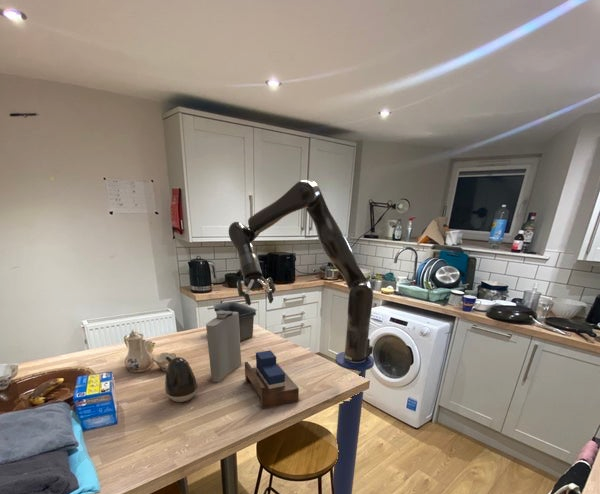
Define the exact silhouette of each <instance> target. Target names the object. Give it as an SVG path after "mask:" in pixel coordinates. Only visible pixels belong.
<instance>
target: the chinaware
mask: <svg viewBox="0 0 600 494" xmlns="http://www.w3.org/2000/svg"><path fill="white" fill-rule="evenodd" d="M123 341H124V344H125V346H126V348H127V349H128V350H127V354H126V357H125V359H124V365H125V368H127V369H128V370H129V371H130V372H131V373H143V372H146V371H148V370H151V369H152V368H153V364H154V363H156V366H157V367H158V368H160V369H161V370H162V371H163V372H166V371H167V367H168V365H169V362H168V361H167V360H166V357H169V358H171V359H173V358H176V357H177V354H176V353H174V352H171V353H169V352H162V353H160V354H157V355H152V353H153V352H154V349H155V345H156V342H152V340H146V339H144V334H143V333H139V332H137V331H136V330H135V329H132V330H131V332H130V333H129V334H125V335H124V336H123Z"/></svg>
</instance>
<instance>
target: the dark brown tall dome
mask: <svg viewBox="0 0 600 494" xmlns="http://www.w3.org/2000/svg"><path fill="white" fill-rule="evenodd" d="M166 360H167V361H168V362H169V365H168V367H167V371H165V377H164V388H165V390H164V391H165V394H166V395H167V396H168V398H169V399H170V400H172V401H174V402H177V403H183V402H187V401H189V400H191V399H192V398H193V397H194V396H195V395H196V392H197V389H198V382H197V379H196V376H195V374H194V371H193V369H192V367H191V366H190V363H189V362H188V361H187V360H186V359H185V358H183V357H180V356H176V358H173V359H171V358H169V357H166Z"/></svg>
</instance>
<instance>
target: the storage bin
mask: <svg viewBox="0 0 600 494" xmlns="http://www.w3.org/2000/svg"><path fill="white" fill-rule="evenodd" d="M212 307H213V310H214V312H215V313H216V312H217V311H222V310H223V311H232V312H238V313H239V330H240V342H241V341H244V340H248V339H250V338H252V337H253V336H254V320H255V316H256V315H257V309H256V308H253V307H252V306H248V305H247V304H246V305H245V304H242V303H239V302H237V301H226V302H225V301H224V302H222V303H218V304H213V306H212Z"/></svg>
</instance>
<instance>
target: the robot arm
mask: <svg viewBox="0 0 600 494" xmlns="http://www.w3.org/2000/svg"><path fill="white" fill-rule="evenodd" d="M303 209H305V211H306V212H307V213H308V215H309V217H310V218H311V220H312V222H313V224H314V227H315V232H316V234H317V238H318V242H319V245H320V246H321V249H322V250H323V252H324V254H325V255H326V258H327V259H328V260H329V262H330V263H331V265H333V267H334V268H335V269H336V270H337V271H338V272H339V273H340V275H341V276H342V278H343V280H344V282H345V284H346V286H347V288H348V291H349V292H348V300H347V312H346V314H347V315H346V316H347V317H346V331H345V343H344V352H345V353H344V360H345V361H347V362H349V363H354V364H360V363H364V362H365V361H366V360H368V357H369V356H371V355H372V354H373V352H374V351H373V350H374V347H373V346H372V345H371V343H370V342H371V340H370V338H369V335H370V334H369V333H370V325H371V317H372V310H373V309H372V308H373V301H374V288H373V285H372V284H371V282H370V281H369V280H368V279H367V277H366V276H365V274H364V272H363V271H362V270H361V268H360V266H359V264H358V261H357V260H356V256H355V255H354V253H353V250H352V248H351V247H350V244H349V242H348V240H347V239H346V237H345V235H344V233H343V231H342V230H341V228H340V227H339V225H338V222H337V221H336V220H335V218H334V216H333V214H331V211H330V209H329V207H328V205H327V202H326V200H325V198H324V196H323V193H322V190H321V188H320V186H319V185H318V184H317V183H316V182H315V181H313V180H312V179H301V180H298V181H297V182H295V183H294V184H293V186H291V187H290V188H289V189H288V190H287V191H286V192H285V193H284V194H283V195H282V196H280V197H279V198H278V199H277V200H275V201H274V202H272V203H270V204H269V205H267V206H265V207H264V208H262V209H260V210H259V211H257V212H256V213H254V214H252V215H251V216H250V217H249V218H248V219H247V225H248V226H247V225H245V224H243V223H241V222H239V221H233V222H231V224H230V225H229V226H228V227H229V228H228V236H229V237H228V238H229V239H230V241H231V243H232V245H233V247H234V249H235V250H236V253H237V256H238V260H239V266H240V270H241V273H242V278H243V280H241V279H237V281H236V288H237V293H238V296H239V297H244V301H245V304H246V305H247V306H248V307H250V306H251V305H252V301H251V298H250V292H251V291H252V292H256V291H258V292H259V291H261V292H263V293H265V294H266V295H267V300H268V303H269V304H272V303H273V302H274V296H273V294H274V293H275V291H276V285H275V283H274V281H273V278H272V277H271V276H270V277H268V278H264V275H263V272H262V269H261V268H262V267H261V264H260V262H259V258H258V256H257V253H256V251H255V246H254V244H253V242H254V241H255V240H256V238H258V237H259V236H260V234H261V233H263V232H264V231H266V230H268V229H269V228H271V227H273V226H274V225H275V224H277V223H278V222H280V220H282V219H283V218H285V217H286V216H288V215H290V214H292V213H294V212H297V211H300V210H303ZM243 286H245V287H246V289H245V291H243Z"/></svg>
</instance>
